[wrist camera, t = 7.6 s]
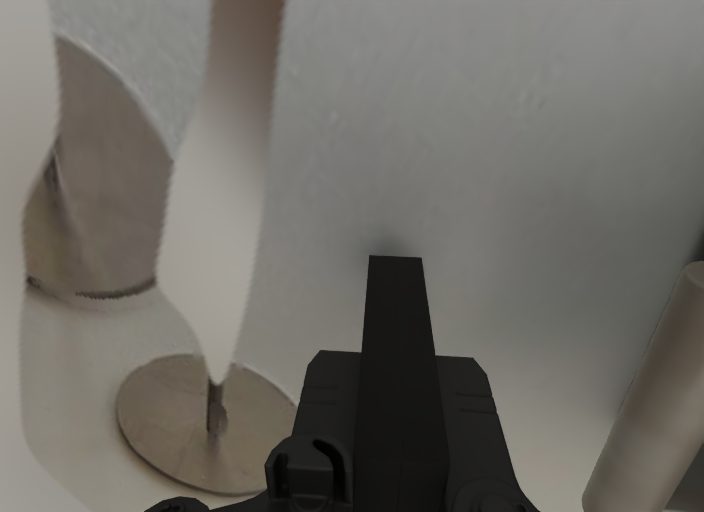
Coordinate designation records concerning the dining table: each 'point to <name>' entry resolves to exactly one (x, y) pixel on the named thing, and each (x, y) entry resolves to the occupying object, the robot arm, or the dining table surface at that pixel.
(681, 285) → the drawer
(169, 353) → the dining table surface
